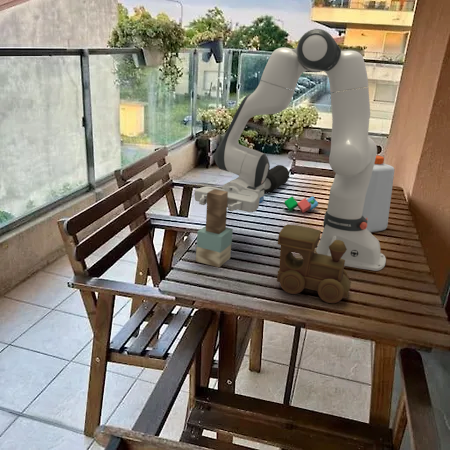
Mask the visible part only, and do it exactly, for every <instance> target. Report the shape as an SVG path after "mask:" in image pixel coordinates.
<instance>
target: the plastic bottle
mask: <svg viewBox="0 0 450 450" xmlns="http://www.w3.org/2000/svg"><path fill="white" fill-rule="evenodd" d="M384 161H385V157H384V156H382V155H376V159H375V163H374V167H373V171H372V175H371V178H370V182H369V185H368V188H367V192H366V196H365V202H364V207H363V212H362V216H363V217H364V218H365V219H366V218H367V219H368V220H367V221H368V222H367V227H366V229H367V230H368V231H369V232H370V233H375V232H381V231H382V232H383V231H386V229H387V228H388V224H389V216H390V207H391V201H392V200H391V199H392V194H393V185H394V178H395V177H394V176H395V167H394V166H392V165H390V164H387V163H384Z"/></svg>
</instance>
